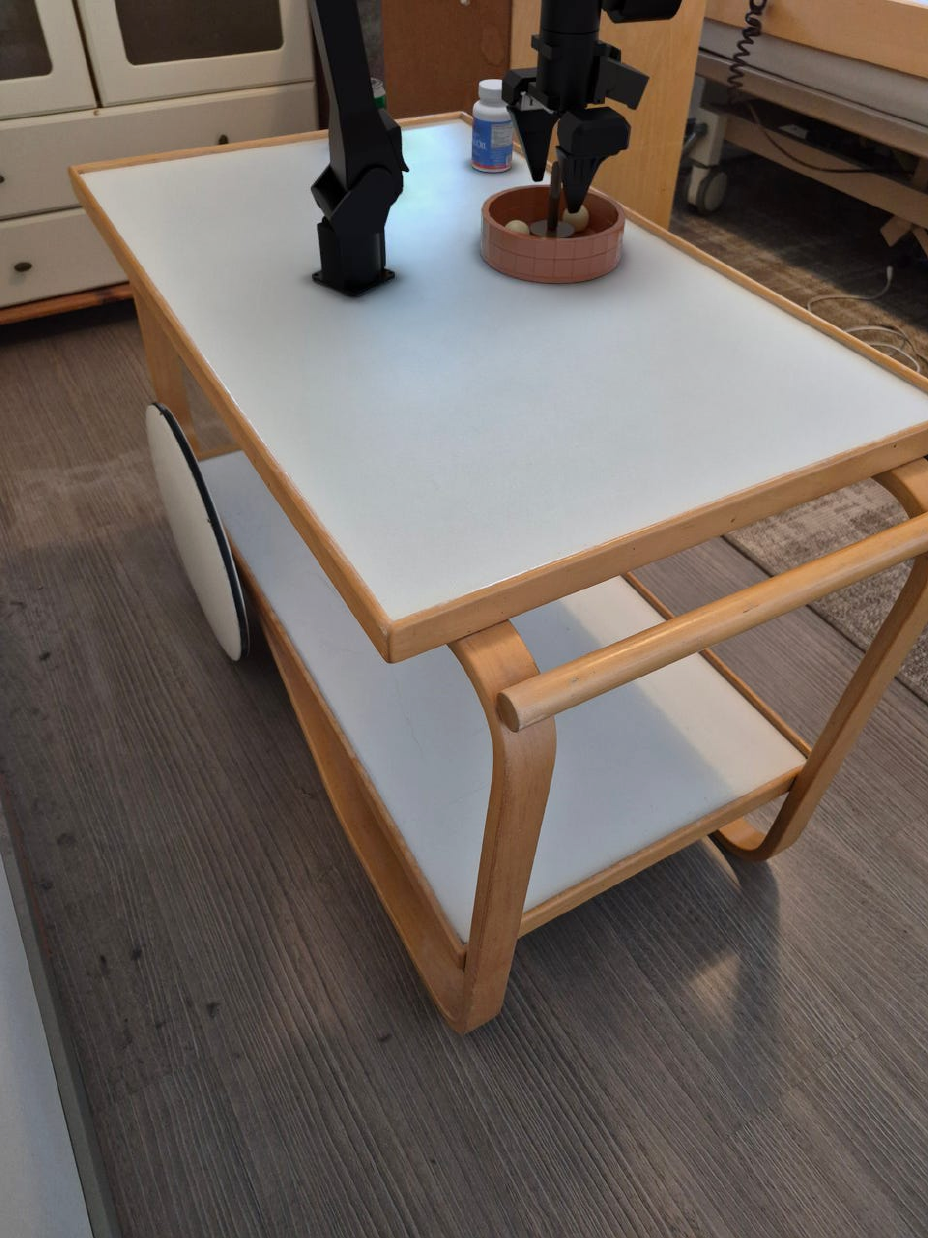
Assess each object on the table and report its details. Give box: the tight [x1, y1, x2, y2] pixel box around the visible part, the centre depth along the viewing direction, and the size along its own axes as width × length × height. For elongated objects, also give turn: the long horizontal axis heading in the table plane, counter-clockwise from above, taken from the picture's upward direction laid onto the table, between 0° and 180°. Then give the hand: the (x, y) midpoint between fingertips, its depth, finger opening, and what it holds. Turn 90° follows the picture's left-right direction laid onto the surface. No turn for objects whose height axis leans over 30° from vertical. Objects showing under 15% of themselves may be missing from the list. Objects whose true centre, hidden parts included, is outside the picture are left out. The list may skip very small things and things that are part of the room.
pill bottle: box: [470, 78, 515, 173], centre depth 116 cm, size 6×5×10 cm
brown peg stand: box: [529, 160, 575, 238], centre depth 98 cm, size 5×5×9 cm
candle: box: [357, 0, 389, 114], centre depth 117 cm, size 8×7×20 cm
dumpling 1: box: [505, 220, 530, 235], centre depth 99 cm, size 3×3×3 cm
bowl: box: [479, 183, 627, 284], centre depth 100 cm, size 16×16×4 cm
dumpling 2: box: [562, 206, 589, 233], centre depth 103 cm, size 3×3×3 cm
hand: (555, 196), depth 97 cm, fingers open, 9 cm apart
